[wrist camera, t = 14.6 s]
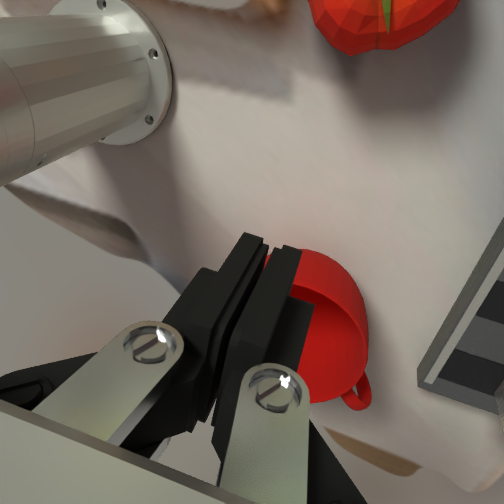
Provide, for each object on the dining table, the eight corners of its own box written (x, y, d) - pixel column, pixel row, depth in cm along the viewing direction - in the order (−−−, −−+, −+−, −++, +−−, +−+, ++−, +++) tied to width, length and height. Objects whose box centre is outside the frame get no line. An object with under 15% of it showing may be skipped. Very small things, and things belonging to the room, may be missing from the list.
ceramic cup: (323, 372, 50) (308, 448, 41) (221, 266, 46) (183, 325, 38) (426, 325, 43) (432, 404, 35) (315, 197, 40) (293, 250, 31)
